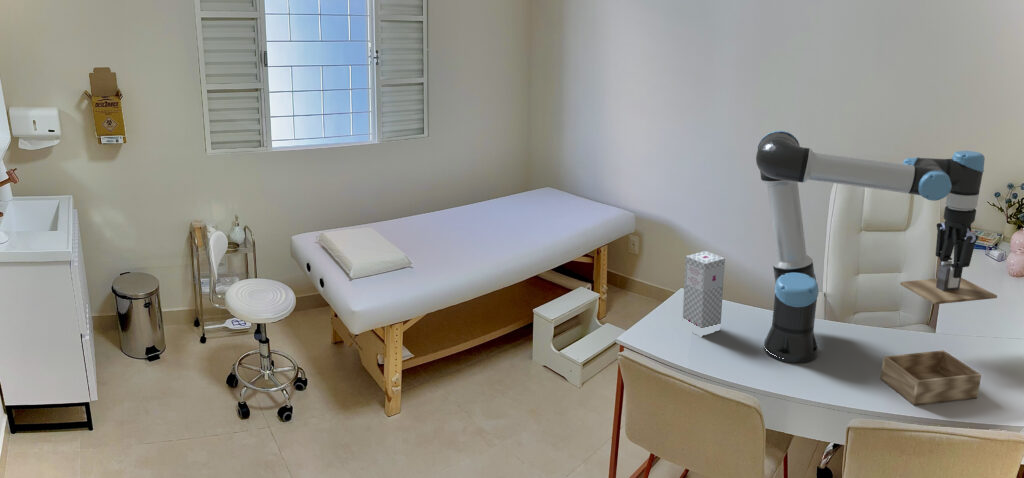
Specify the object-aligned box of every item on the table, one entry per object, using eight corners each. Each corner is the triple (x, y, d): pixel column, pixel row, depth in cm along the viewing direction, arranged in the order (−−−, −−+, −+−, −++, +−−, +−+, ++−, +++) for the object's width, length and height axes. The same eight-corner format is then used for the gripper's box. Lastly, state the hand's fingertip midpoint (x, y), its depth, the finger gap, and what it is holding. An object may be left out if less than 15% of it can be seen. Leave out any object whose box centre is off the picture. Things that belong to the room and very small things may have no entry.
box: (682, 327, 234) (685, 256, 226) (701, 321, 238) (705, 250, 230) (700, 337, 227) (705, 263, 219) (720, 330, 231) (725, 258, 223)
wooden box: (914, 405, 186) (918, 382, 184) (880, 378, 199) (883, 356, 197) (976, 398, 188) (981, 374, 186) (939, 372, 201) (943, 350, 199)
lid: (934, 306, 199) (939, 278, 197) (899, 286, 213) (903, 260, 211) (996, 300, 201) (1001, 272, 199) (957, 280, 216) (962, 254, 213)
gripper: (995, 213, 192) (980, 294, 199) (952, 198, 207) (940, 273, 215) (970, 216, 191) (956, 296, 199) (928, 200, 206) (917, 276, 214)
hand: (947, 284), depth 207 cm, fingers closed on lid, 3 cm apart
